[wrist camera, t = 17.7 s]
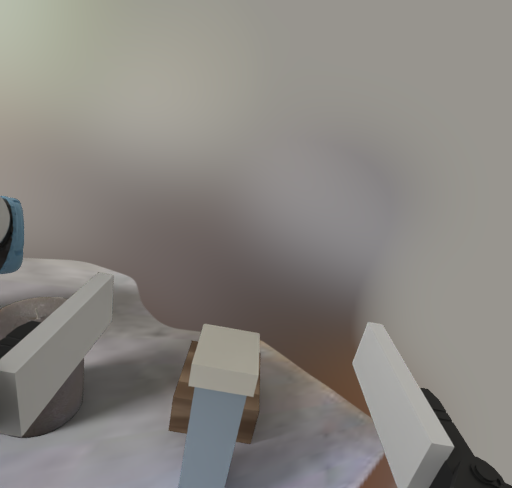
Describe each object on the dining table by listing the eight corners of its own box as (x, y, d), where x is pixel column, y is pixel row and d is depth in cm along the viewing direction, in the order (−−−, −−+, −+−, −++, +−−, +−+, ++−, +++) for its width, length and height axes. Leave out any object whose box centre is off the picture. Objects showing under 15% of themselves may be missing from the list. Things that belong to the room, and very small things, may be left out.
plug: (221, 524, 33) (258, 375, 26) (168, 516, 33) (191, 363, 26) (227, 469, 38) (259, 333, 31) (181, 462, 38) (203, 323, 31)
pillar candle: (-24, 440, 36) (-40, 334, 31) (18, 375, 45) (11, 283, 40) (70, 437, 39) (70, 338, 33) (93, 376, 47) (95, 290, 42)
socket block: (250, 443, 42) (259, 411, 40) (168, 430, 42) (173, 396, 40) (253, 381, 52) (260, 352, 50) (187, 370, 52) (192, 340, 50)
